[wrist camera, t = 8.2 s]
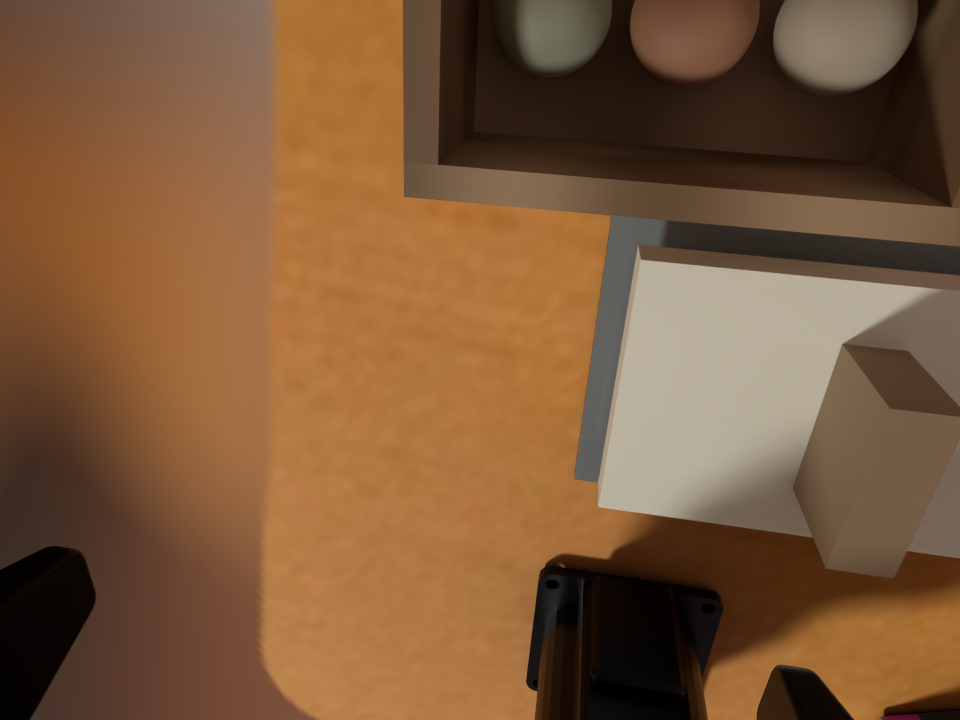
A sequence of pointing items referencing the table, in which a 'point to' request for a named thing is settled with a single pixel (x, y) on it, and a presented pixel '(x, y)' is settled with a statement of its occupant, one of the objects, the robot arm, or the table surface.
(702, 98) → the box
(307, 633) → the table surface
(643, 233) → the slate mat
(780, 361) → the lid
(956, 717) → the candy bar box
